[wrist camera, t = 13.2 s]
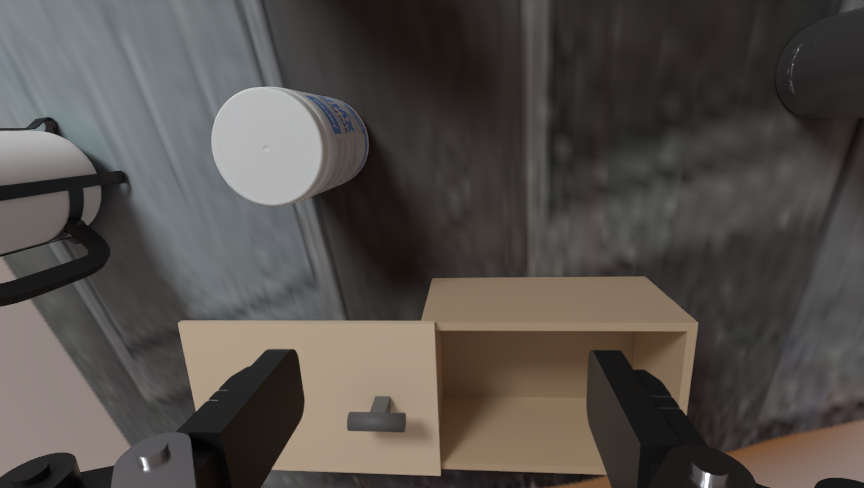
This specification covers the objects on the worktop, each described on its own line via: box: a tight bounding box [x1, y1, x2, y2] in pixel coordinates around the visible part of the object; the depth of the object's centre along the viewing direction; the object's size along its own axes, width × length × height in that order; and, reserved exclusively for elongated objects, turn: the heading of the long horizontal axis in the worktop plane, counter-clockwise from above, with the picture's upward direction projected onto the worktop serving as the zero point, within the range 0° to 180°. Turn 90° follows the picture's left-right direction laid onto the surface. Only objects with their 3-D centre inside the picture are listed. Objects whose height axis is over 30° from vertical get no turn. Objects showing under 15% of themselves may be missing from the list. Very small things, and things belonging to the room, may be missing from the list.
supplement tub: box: [211, 87, 369, 206], centre depth 41 cm, size 10×10×15 cm
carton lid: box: [178, 320, 441, 476], centre depth 41 cm, size 24×16×4 cm
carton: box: [421, 277, 698, 475], centre depth 46 cm, size 24×16×12 cm, turn 92°
